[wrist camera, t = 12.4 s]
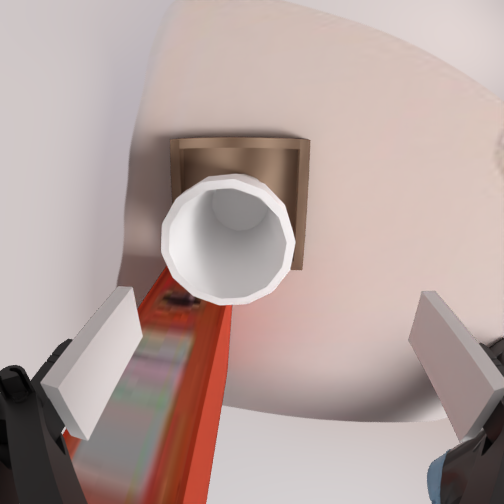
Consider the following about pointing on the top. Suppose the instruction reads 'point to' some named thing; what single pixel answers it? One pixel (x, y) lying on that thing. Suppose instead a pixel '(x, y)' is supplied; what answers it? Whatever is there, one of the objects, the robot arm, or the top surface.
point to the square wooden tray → (249, 171)
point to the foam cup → (228, 240)
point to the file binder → (161, 406)
